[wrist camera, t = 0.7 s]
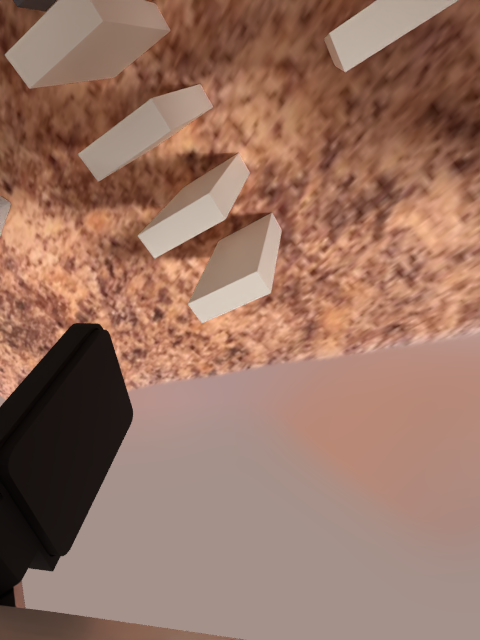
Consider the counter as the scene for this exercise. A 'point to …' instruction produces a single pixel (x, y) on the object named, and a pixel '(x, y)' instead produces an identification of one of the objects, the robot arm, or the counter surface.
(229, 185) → the domino
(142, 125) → the domino
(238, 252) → the domino
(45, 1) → the block
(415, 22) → the domino
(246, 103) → the counter surface
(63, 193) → the counter surface
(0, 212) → the skincare box
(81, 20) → the domino
